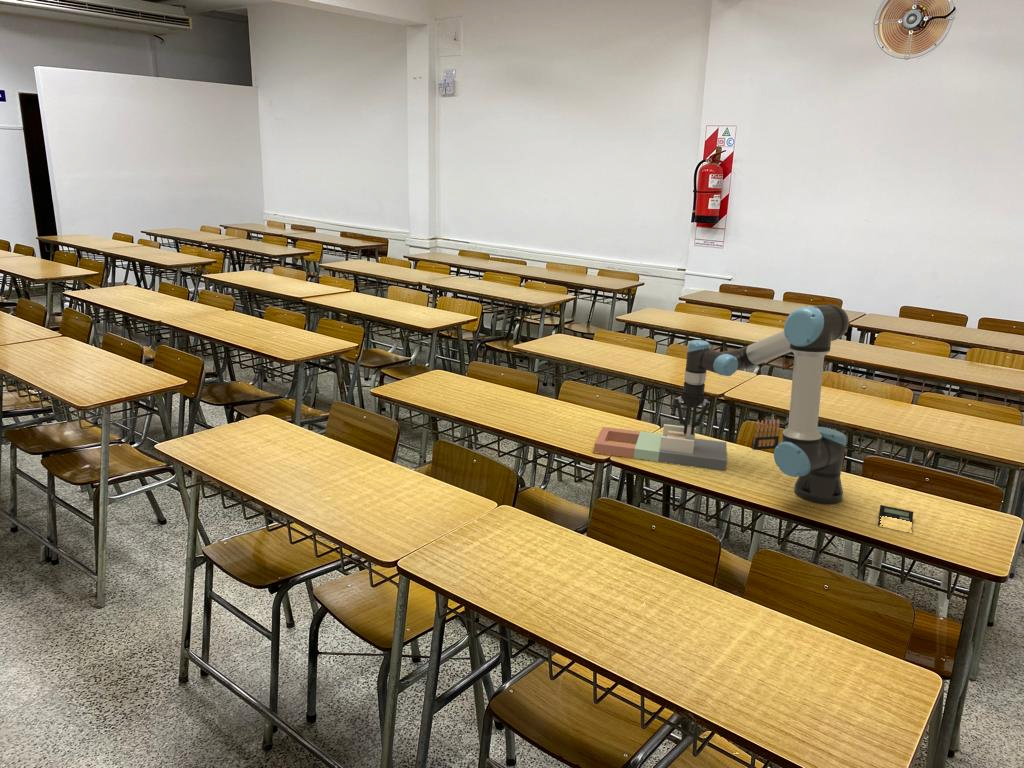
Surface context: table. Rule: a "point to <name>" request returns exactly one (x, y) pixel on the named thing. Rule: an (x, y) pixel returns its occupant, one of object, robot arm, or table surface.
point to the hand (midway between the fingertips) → (687, 442)
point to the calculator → (895, 513)
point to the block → (676, 434)
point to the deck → (663, 447)
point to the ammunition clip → (766, 435)
